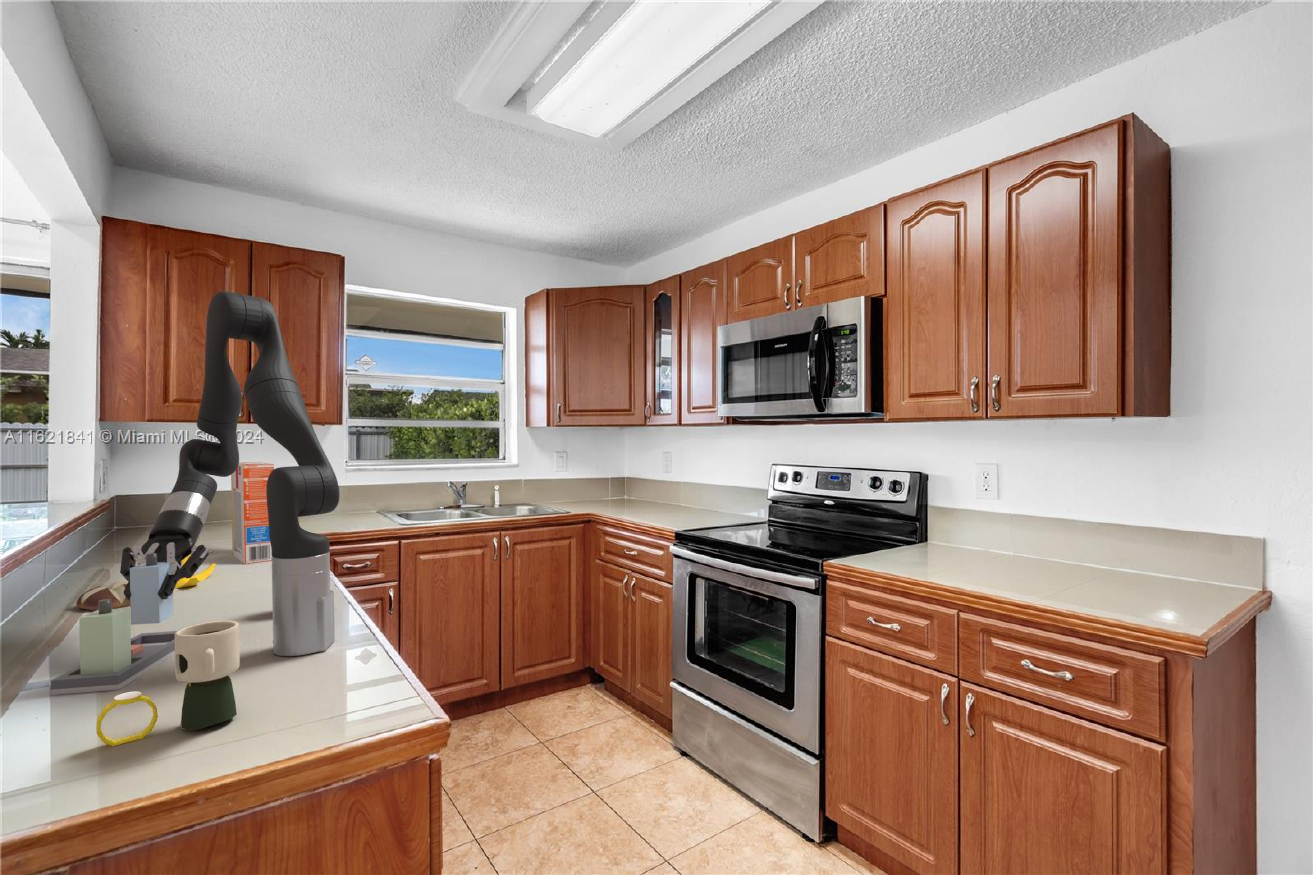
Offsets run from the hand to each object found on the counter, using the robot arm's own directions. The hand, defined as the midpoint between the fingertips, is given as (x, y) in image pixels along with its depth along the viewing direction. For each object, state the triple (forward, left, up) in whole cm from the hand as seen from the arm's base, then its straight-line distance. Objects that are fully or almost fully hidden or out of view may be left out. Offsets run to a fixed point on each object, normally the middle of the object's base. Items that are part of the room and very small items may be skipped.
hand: (146, 597), depth 113 cm
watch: (-16, +35, -11) cm, 40 cm away
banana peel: (+26, -60, -11) cm, 66 cm away
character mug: (-24, +32, -11) cm, 42 cm away
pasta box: (+20, -96, -11) cm, 98 cm away
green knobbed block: (0, +11, -10) cm, 15 cm away
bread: (+29, -41, -11) cm, 51 cm away
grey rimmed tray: (0, +5, -10) cm, 11 cm away
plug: (0, -2, -5) cm, 5 cm away
